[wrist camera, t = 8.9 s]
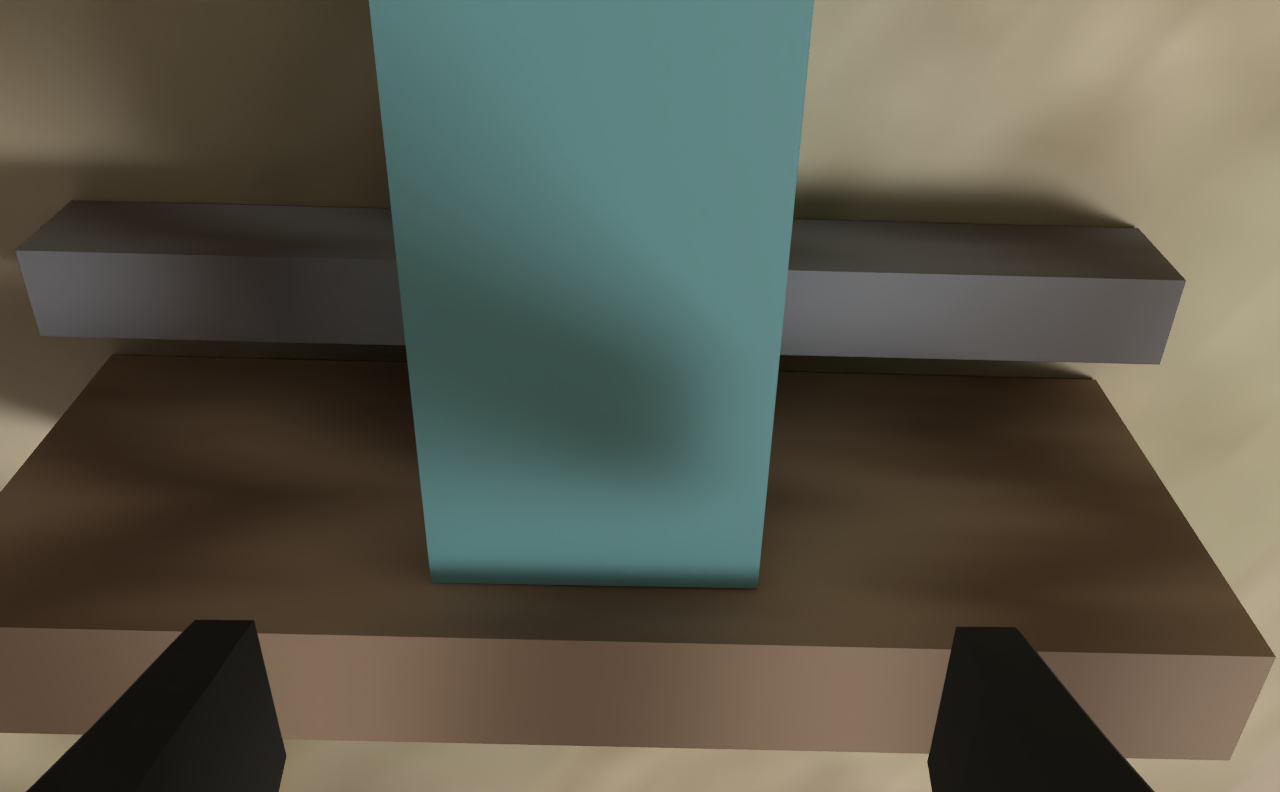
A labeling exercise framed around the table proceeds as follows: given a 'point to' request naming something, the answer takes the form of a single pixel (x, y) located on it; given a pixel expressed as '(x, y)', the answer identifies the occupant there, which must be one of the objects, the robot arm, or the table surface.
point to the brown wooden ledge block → (613, 615)
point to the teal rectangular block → (593, 277)
